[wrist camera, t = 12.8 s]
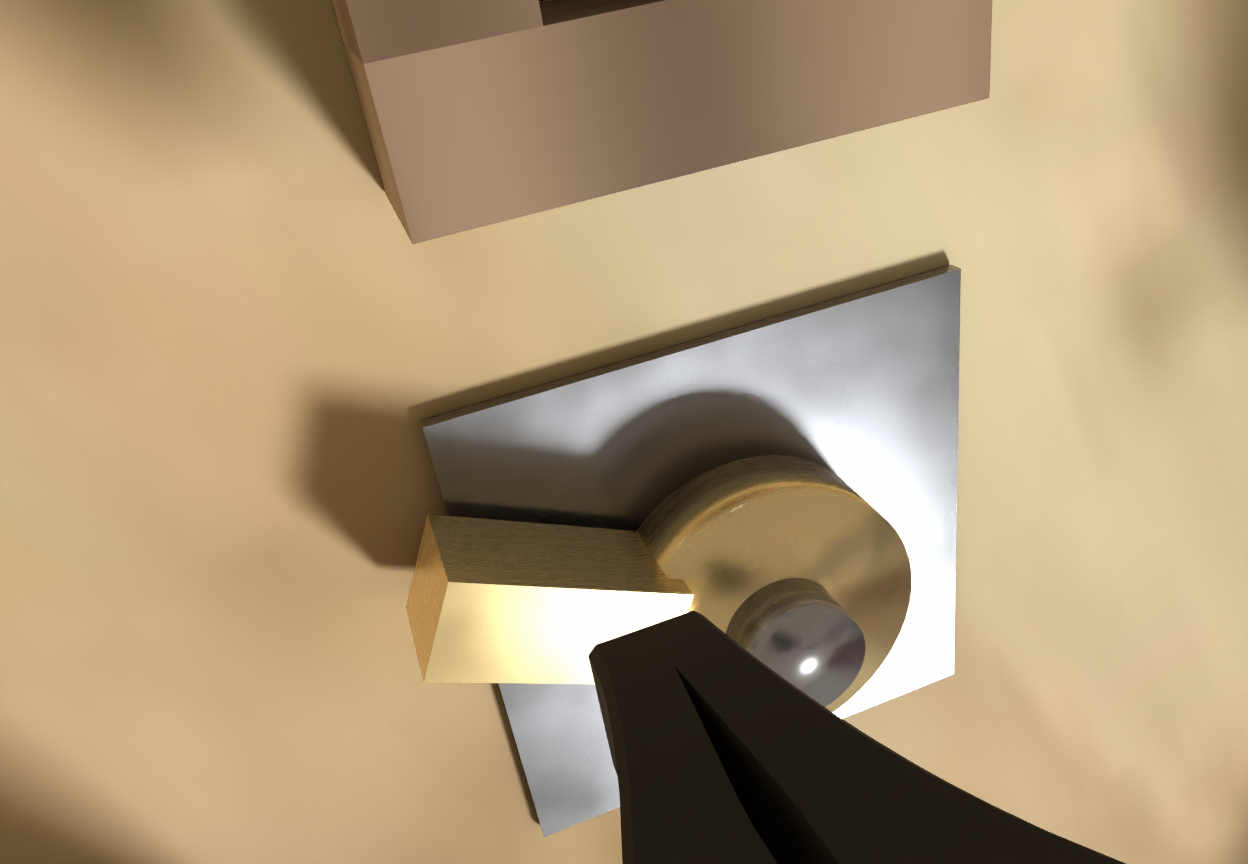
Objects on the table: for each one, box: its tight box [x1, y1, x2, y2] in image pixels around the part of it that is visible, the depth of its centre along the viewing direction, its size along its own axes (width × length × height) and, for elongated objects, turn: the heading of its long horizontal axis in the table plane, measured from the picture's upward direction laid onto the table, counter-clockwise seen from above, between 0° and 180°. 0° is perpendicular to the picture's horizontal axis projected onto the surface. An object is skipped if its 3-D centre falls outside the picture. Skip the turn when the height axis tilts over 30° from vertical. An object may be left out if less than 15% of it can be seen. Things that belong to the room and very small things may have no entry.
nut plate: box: [420, 265, 961, 837], centre depth 21 cm, size 11×11×1 cm
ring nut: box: [406, 455, 912, 712], centre depth 19 cm, size 6×10×3 cm, turn 73°
